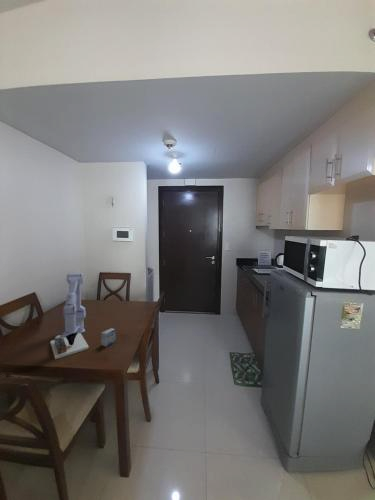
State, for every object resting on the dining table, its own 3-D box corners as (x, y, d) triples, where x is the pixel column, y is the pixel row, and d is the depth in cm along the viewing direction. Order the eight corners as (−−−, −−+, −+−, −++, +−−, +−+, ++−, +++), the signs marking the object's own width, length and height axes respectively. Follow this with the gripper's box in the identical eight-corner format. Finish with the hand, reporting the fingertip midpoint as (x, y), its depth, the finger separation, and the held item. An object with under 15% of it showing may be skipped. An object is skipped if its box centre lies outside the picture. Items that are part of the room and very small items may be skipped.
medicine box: (106, 347, 136) (105, 334, 135) (101, 345, 138) (101, 332, 137) (115, 341, 143) (115, 329, 142) (111, 339, 145) (110, 327, 144)
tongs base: (53, 342, 138) (53, 337, 138) (62, 340, 141) (61, 335, 141) (57, 354, 125) (57, 349, 125) (66, 351, 128) (66, 346, 128)
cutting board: (50, 343, 140) (50, 340, 140) (80, 335, 151) (80, 332, 151) (55, 359, 123) (55, 356, 123) (88, 348, 134) (88, 346, 134)
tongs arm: (55, 341, 138) (54, 336, 138) (62, 339, 141) (62, 334, 141) (58, 353, 125) (58, 347, 125) (66, 351, 128) (66, 345, 128)
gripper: (65, 329, 125) (66, 352, 126) (84, 319, 138) (85, 339, 140) (56, 328, 127) (57, 349, 128) (75, 318, 140) (76, 338, 142)
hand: (71, 344), depth 134 cm, fingers closed
